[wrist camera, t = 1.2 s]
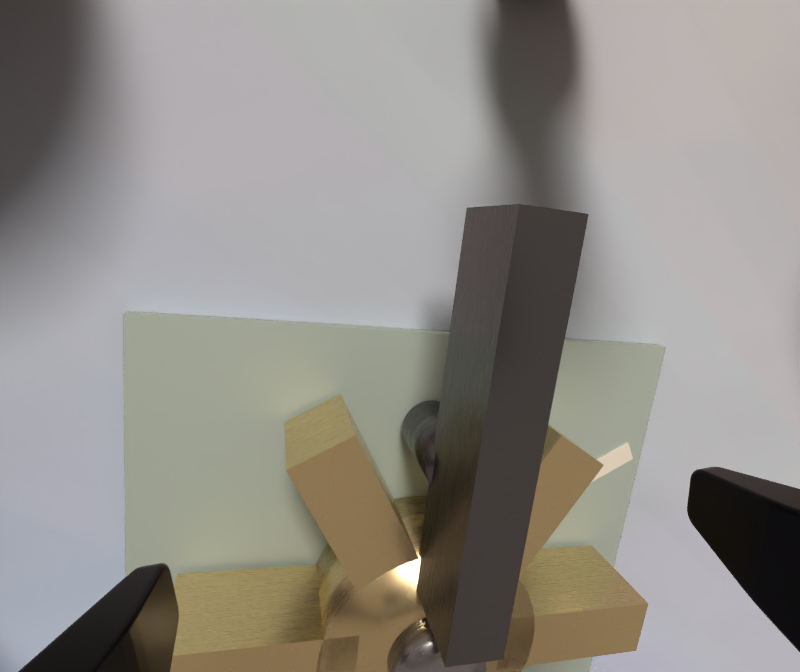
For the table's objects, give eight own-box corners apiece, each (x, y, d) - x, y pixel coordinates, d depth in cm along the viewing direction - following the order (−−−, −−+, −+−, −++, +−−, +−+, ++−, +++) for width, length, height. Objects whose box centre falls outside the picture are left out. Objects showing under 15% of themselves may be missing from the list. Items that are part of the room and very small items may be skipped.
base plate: (131, 803, 23) (126, 821, 22) (127, 311, 18) (122, 314, 17) (568, 724, 29) (574, 736, 28) (656, 344, 24) (667, 348, 23)
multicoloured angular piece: (173, 772, 22) (125, 1025, 15) (184, 177, 16) (115, 146, 9) (555, 707, 27) (649, 873, 20) (660, 240, 22) (838, 249, 15)
